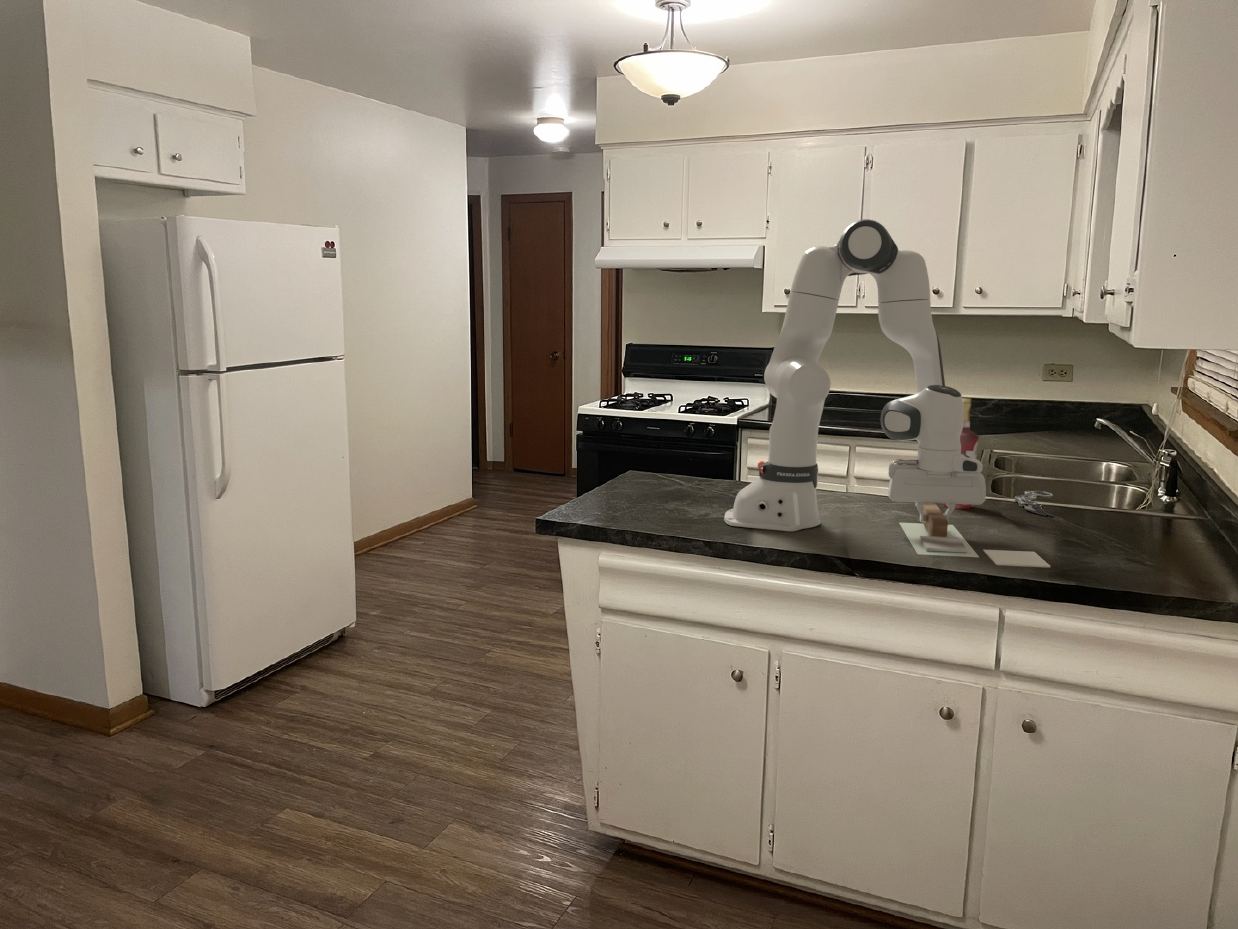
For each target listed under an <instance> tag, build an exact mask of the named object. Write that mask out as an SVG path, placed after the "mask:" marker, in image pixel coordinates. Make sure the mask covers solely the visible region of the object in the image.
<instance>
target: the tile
mask: <svg viewBox="0 0 1238 929" xmlns="http://www.w3.org/2000/svg"><path fill="white" fill-rule="evenodd" d="M983 552H984V553H985V554H986V556H988V557H989V559H990V560H991V561H992V562H993V563H994V565H996V566H1004V567H1005V566H1007V567H1009V566H1010V567H1032V568H1033V567H1035V568H1051V565H1050V564H1049V563H1047V562H1046V560H1044V559H1043V558H1042V557H1041V556H1040V555H1038V553H1037V552H1035V551H1028V550H1027V551H1026V550H1025V551H1024V550H1023V551H1021V550H1003V549H1002V550H1001V549H999V550H998V549H983Z"/></svg>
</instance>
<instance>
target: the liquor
mask: <svg viewBox="0 0 1238 929" xmlns="http://www.w3.org/2000/svg"><path fill="white" fill-rule="evenodd" d="M962 399H963V407H964V417H963V429H962V432H961V435H960V443H961V454H964V455H968V456H970V457H973V458H975V459H977V455H978V454H977V453H978V447H979V446H978V445H979V437H980V436H978V434H977V433H976V432H974V431H972V430H971V420H970V418H971V416H970V415H971V414H970V411H971V407H972V398H963V397H962ZM942 504H943V506H944V507H946V508H948V507H947V503H942ZM972 507H973V504H955V509H954V510H969V509H971V508H972Z"/></svg>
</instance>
